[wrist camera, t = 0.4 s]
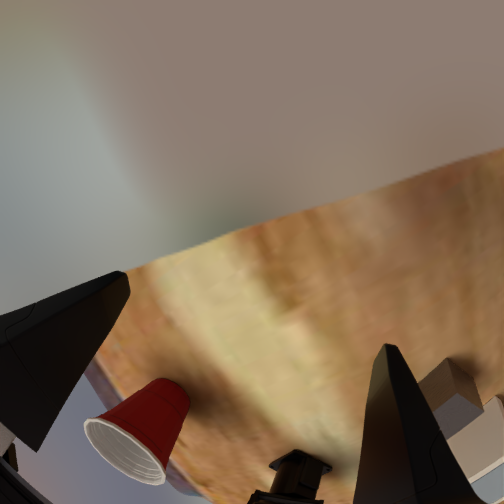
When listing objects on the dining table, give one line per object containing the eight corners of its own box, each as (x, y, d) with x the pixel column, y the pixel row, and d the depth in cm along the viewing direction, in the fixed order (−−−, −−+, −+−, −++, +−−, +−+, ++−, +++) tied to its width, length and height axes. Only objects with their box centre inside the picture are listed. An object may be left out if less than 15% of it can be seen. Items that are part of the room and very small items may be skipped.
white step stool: (463, 479, 26) (466, 520, 19) (409, 457, 27) (408, 508, 20) (535, 427, 20) (548, 469, 13) (495, 395, 21) (512, 449, 14)
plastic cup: (222, 397, 32) (174, 475, 21) (194, 431, 37) (152, 493, 26) (146, 345, 33) (81, 407, 22) (131, 388, 38) (81, 440, 27)
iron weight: (438, 407, 24) (443, 442, 20) (409, 389, 24) (413, 426, 20) (473, 377, 22) (484, 411, 17) (446, 356, 22) (456, 392, 18)
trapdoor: (472, 507, 19) (472, 513, 18) (431, 498, 20) (431, 504, 19) (543, 461, 14) (545, 467, 13) (516, 445, 15) (518, 452, 14)
